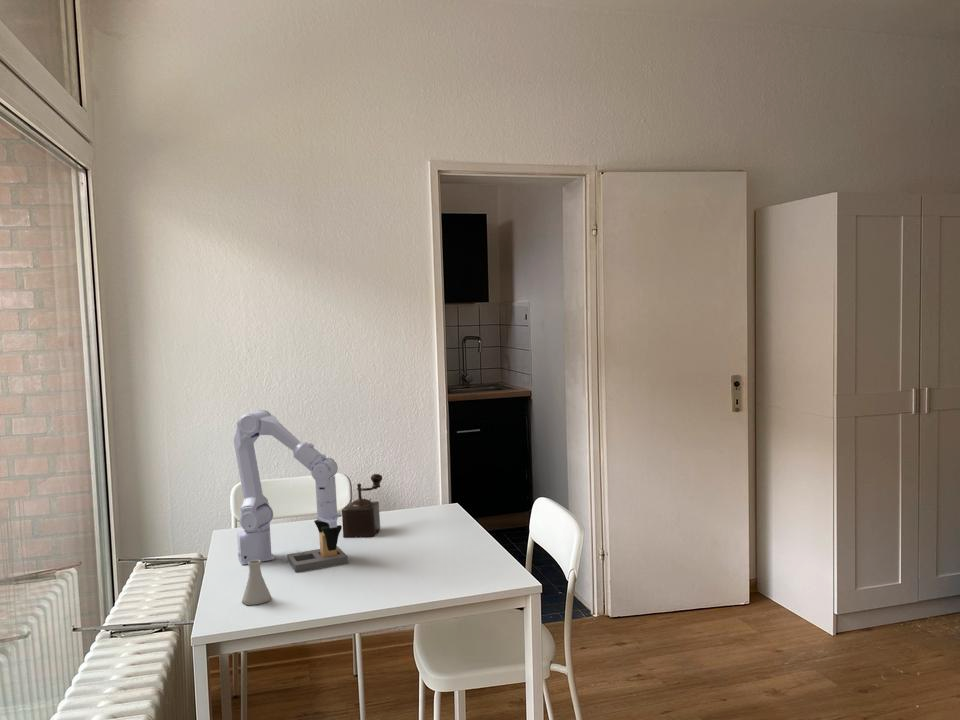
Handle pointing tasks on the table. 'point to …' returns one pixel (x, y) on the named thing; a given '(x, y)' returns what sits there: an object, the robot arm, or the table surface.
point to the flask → (255, 586)
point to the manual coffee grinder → (362, 514)
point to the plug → (325, 547)
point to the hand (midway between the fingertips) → (328, 546)
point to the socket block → (315, 560)
